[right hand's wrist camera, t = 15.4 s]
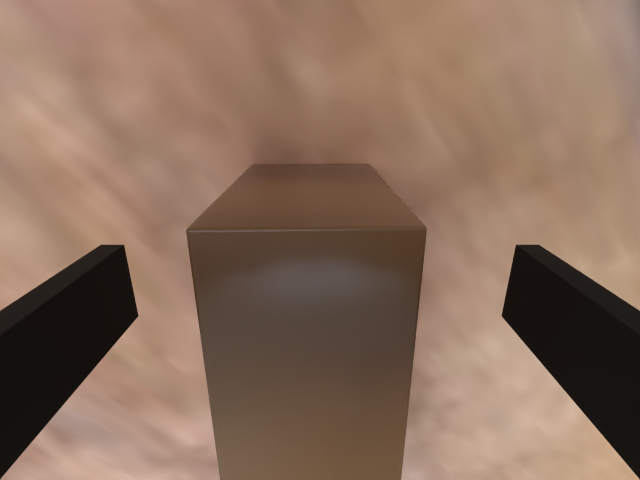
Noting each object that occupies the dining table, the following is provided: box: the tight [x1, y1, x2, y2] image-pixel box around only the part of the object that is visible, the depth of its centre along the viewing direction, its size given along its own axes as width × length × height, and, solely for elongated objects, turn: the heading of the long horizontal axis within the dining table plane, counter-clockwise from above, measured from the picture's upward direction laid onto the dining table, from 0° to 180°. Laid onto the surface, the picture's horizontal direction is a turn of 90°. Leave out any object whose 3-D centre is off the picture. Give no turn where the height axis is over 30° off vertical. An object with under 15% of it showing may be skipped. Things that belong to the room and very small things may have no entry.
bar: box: [186, 164, 427, 480], centre depth 17 cm, size 27×5×9 cm, turn 0°
